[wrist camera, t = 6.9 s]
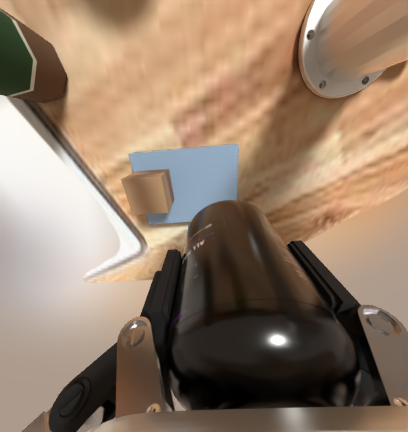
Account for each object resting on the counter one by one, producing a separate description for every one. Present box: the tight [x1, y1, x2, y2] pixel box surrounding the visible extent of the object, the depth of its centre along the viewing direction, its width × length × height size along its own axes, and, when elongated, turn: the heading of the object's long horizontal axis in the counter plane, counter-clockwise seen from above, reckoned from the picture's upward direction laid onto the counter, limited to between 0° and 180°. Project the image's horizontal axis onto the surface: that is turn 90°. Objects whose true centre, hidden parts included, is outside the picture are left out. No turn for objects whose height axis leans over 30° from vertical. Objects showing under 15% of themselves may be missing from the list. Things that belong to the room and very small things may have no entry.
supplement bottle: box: [165, 200, 361, 411], centre depth 8 cm, size 7×7×12 cm
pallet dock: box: [129, 144, 239, 225], centre depth 26 cm, size 16×12×3 cm
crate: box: [121, 169, 174, 215], centre depth 22 cm, size 5×5×5 cm
